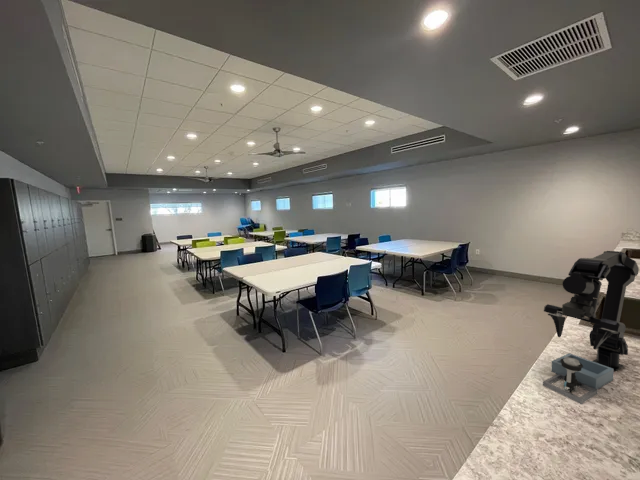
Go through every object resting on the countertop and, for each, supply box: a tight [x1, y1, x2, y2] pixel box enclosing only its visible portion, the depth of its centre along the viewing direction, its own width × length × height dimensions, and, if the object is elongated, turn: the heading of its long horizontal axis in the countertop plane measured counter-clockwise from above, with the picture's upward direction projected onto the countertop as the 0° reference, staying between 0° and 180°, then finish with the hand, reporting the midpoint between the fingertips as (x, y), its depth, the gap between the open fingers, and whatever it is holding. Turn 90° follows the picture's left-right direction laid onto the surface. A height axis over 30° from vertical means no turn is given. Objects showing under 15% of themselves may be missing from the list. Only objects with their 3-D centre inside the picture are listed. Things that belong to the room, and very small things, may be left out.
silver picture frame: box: [542, 373, 599, 405], centre depth 87 cm, size 10×10×2 cm
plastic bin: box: [550, 352, 615, 390], centre depth 94 cm, size 12×12×4 cm
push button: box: [560, 357, 583, 393], centre depth 87 cm, size 7×5×10 cm
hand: (576, 342), depth 88 cm, fingers open, 9 cm apart
